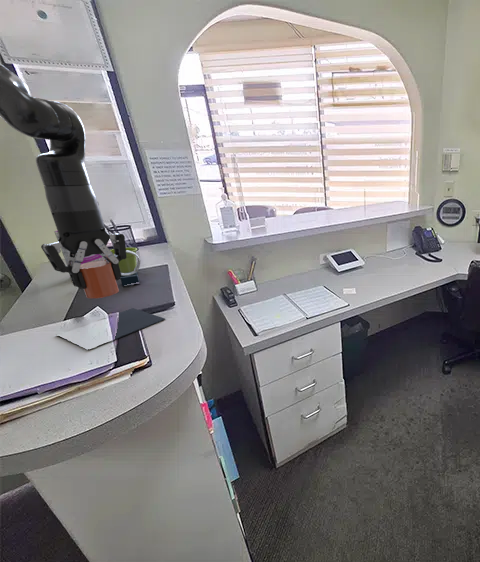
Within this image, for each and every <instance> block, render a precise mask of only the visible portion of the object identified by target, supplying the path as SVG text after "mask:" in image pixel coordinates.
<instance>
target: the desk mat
mask: <svg viewBox="0 0 480 562" xmlns="http://www.w3.org/2000/svg"><path fill="white" fill-rule="evenodd" d="M118 313H119V322H118V329H117V333H116V336H115V340H114V341H116V340H119V339H121V338H124V337H126V336H128V335H131V334H134V333H136V332H139V331H141V330H144V329H146V328H148V327H151V326H154V325H156V324H158V323H160V322H163V321H165V320H166V318H165V317H161V316H159V315H155V314H153V313H150V312H146V311H143V310H141V309H137V308H134V307H132V308H129V309H127V310H126V309H125V310H124V311H120V312H118Z"/></svg>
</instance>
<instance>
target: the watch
mask: <svg viewBox="0 0 480 562" xmlns="http://www.w3.org/2000/svg"><path fill="white" fill-rule="evenodd" d="M126 252H127V253H131V254H133V255H135V256H136V262H137V265H136V267H135V269H134V271H133V272H128V273H121V276H120V279H119V280H120V282H121V285H122V287H123V286H124V285H127V284H131V283H136V282H140V278H139V274H138V271H139V269H140V266H141V259H140V256H139V255H138V254H137V252H136V253H134V252H132V251H129V250H127V251H126ZM114 255H115V254H114Z"/></svg>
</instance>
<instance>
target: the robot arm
mask: <svg viewBox="0 0 480 562" xmlns="http://www.w3.org/2000/svg"><path fill="white" fill-rule="evenodd" d="M0 118H1V119H2V120H3V121H4V122H5V123H6V124H7V125H8V126H9V127H10V128H12V129H14V130H15V131H17V132H19V133H20V134H23V135H25V136H27V137H30V138H33V139H38V140H47V141H48V140H49V151H48V152H45V153H41V154H38V155H37V156H36V157H35V164H36V168H37V171H38V173H39V177H40V179H41V182H42V185H43V189H44V193H45V199H46V202H47V205H48V207H49V210H50V213H51V216H52V219H53V222H54V225H55V227H56V231H58V233H59V240H57V241H55V242H51V243H43V244H41V245H40V246H41V247H40V248H41V250H42V251H43V253H44V255H45V256H46V258H47V260H48V261H49V263H50V264H51V266H52V268H53V270H55V271H56V272H60V273H61V274H62V273H63V274H65V273H68V274H69V277H70V280H71V282H72V285H73V286H74V287H76V288H78V289H79V290H80V289H81V290H84V288H86V284H85V281H84V278H83V275H82V272H79V270H80V266H81V263H82V262H83V258H84V257H87V256H90V255H92V254H99V255H101V256H102V257H103V258H104V259H105V260H106V261H109V262H111V265H112V269H113V272H114V275H115V279H116V281H118V280H121V279H120V276H121V271H120V268H119V261H121V260H123V259H126V257H127V256H126V248H127V246H126V238H125V237H126V236H125V234H123V233H119V232H114V233H108V231H107V230H106V226H105V221H104V219H103V216H102V213H101V209H100V204H99V201H98V199H97V196H96V193H95V190H93V187H92V185H91V181H90V177H89V174H88V171H87V168H86V163H85V161H86V131H85V130H86V129H85V126H84V124H83V123H84V122H83V121H82V119H81V118H80V116H79V115H78V113H77V112H76V111H75V110H74V109H73V108H72V107H70V106H69V105H67V104H66V103H65V104H64V103H62V102H59V101H54V100H49V99H45V98H39V97H36V96H35V97H34V96H32V95H30V89H29V88H28V85H27V84H26V83H25V82H24V81H23V80H22V78H20V77H19V76H17V74H15V73H14V72H13V71H11V70H9V69H8V68H7V67H6V66H5V65H3V64H1V63H0ZM109 241H110V242H111V243H112V244H113V249H114V252H115V255H113V253H112V252H111V251H110V250H111V249H110V248H109V247H107V246H108V243H109ZM61 247H64V248H65V249H67V250H68V251H69V254H68V263H67V264H66V263H65V261H64V260H63V258H62V257H61V256H60V254H61V253H62V251H61ZM79 256H80V257H79Z"/></svg>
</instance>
